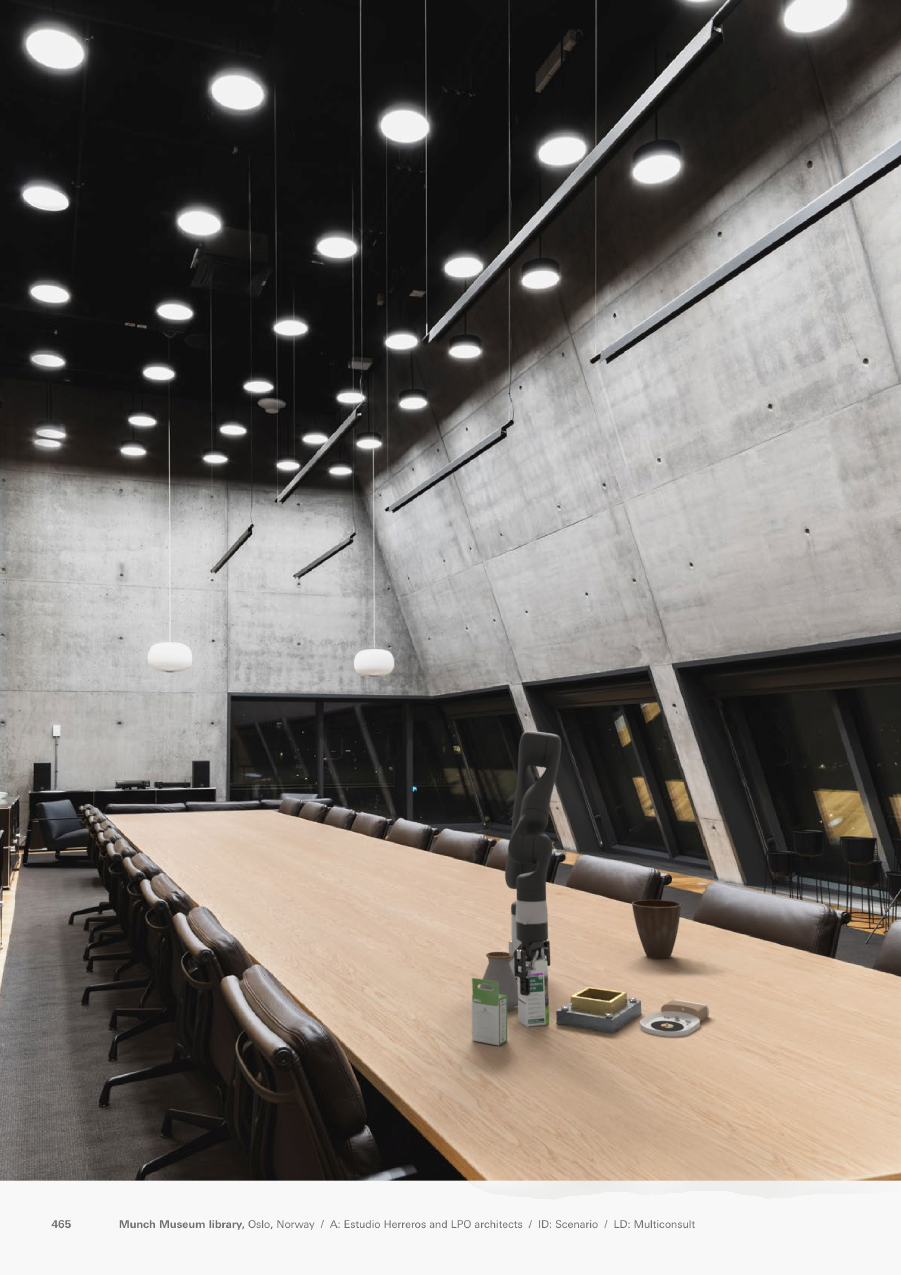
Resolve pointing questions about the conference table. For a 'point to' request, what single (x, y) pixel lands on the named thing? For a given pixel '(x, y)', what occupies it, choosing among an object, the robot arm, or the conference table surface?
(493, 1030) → the ink box
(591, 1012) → the square socket fixture
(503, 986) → the coffee pot
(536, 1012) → the syrup box
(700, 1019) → the record player
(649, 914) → the plant pot
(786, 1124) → the conference table surface
